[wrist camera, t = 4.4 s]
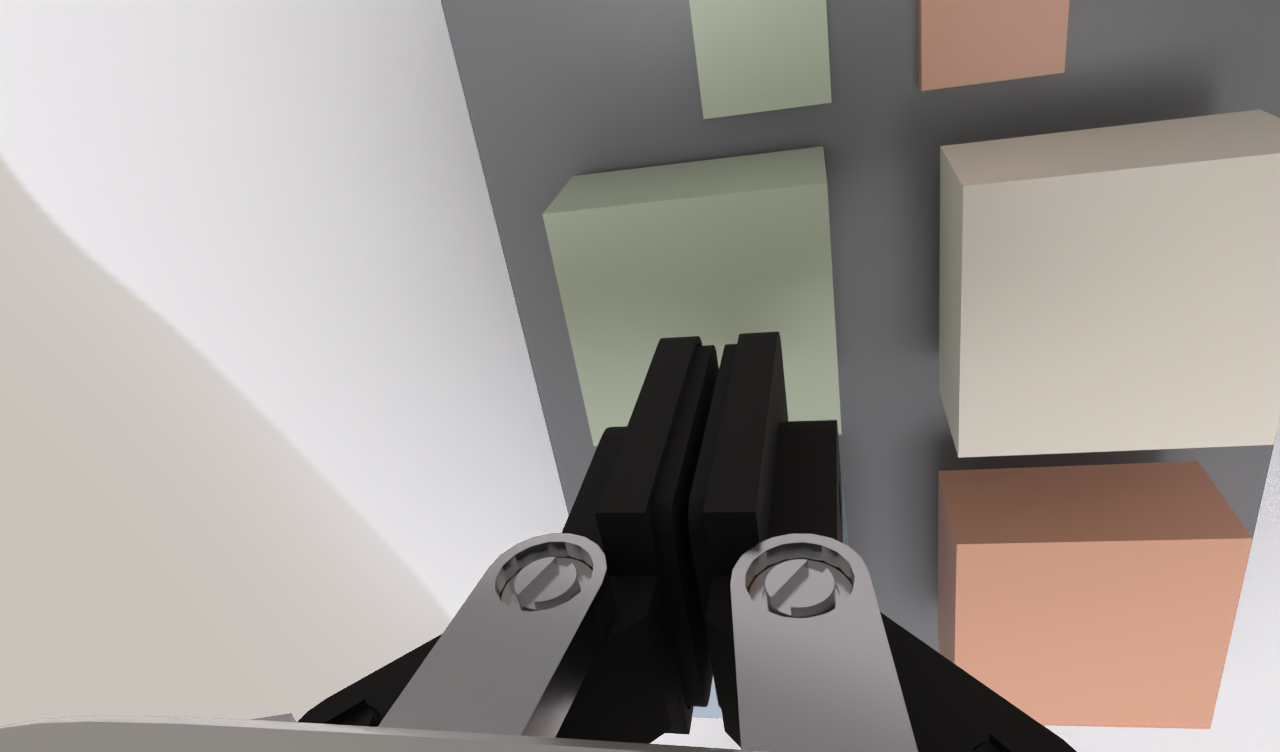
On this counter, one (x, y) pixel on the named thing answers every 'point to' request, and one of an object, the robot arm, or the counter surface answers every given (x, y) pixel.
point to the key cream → (1112, 288)
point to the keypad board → (841, 182)
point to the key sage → (697, 272)
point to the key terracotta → (1091, 589)
